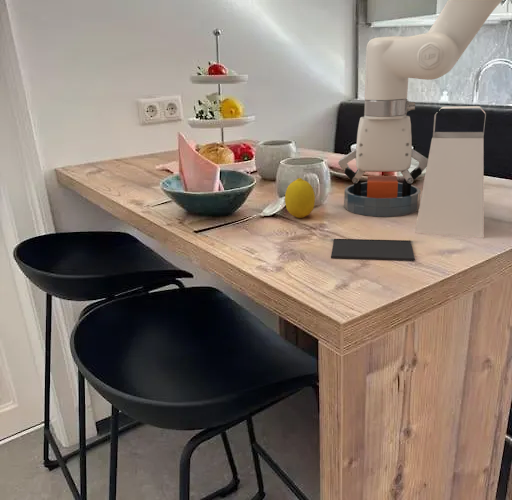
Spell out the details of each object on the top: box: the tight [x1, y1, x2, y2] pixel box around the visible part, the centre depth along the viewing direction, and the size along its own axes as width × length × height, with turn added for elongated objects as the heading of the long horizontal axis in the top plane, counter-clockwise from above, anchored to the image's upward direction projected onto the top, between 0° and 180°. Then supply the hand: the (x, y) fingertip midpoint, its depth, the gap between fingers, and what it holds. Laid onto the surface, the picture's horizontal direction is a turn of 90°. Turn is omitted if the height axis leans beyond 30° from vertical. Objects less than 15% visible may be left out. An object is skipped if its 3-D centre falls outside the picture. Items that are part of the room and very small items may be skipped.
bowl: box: [343, 181, 422, 218], centre depth 98 cm, size 14×14×4 cm
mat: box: [330, 238, 416, 262], centre depth 77 cm, size 12×9×1 cm
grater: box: [414, 105, 487, 239], centre depth 82 cm, size 10×10×20 cm
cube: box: [366, 175, 399, 198], centre depth 97 cm, size 6×6×6 cm
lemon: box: [284, 177, 316, 219], centre depth 93 cm, size 6×6×8 cm
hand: (381, 201), depth 98 cm, fingers open, 8 cm apart
